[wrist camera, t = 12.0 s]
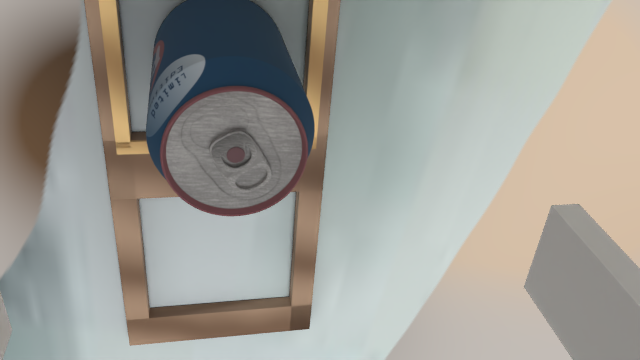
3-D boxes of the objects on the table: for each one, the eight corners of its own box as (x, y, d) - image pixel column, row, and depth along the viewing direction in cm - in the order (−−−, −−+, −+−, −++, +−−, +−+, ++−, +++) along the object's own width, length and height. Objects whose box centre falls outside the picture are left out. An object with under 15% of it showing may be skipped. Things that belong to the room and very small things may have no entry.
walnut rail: (73, -106, 28) (69, -103, 27) (344, -91, 30) (349, -87, 29) (130, 334, 43) (129, 347, 42) (307, 319, 45) (309, 330, 44)
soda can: (128, 24, 31) (104, 129, 21) (244, -39, 31) (274, 39, 21) (197, 125, 35) (204, 254, 25) (301, 71, 35) (349, 181, 25)
